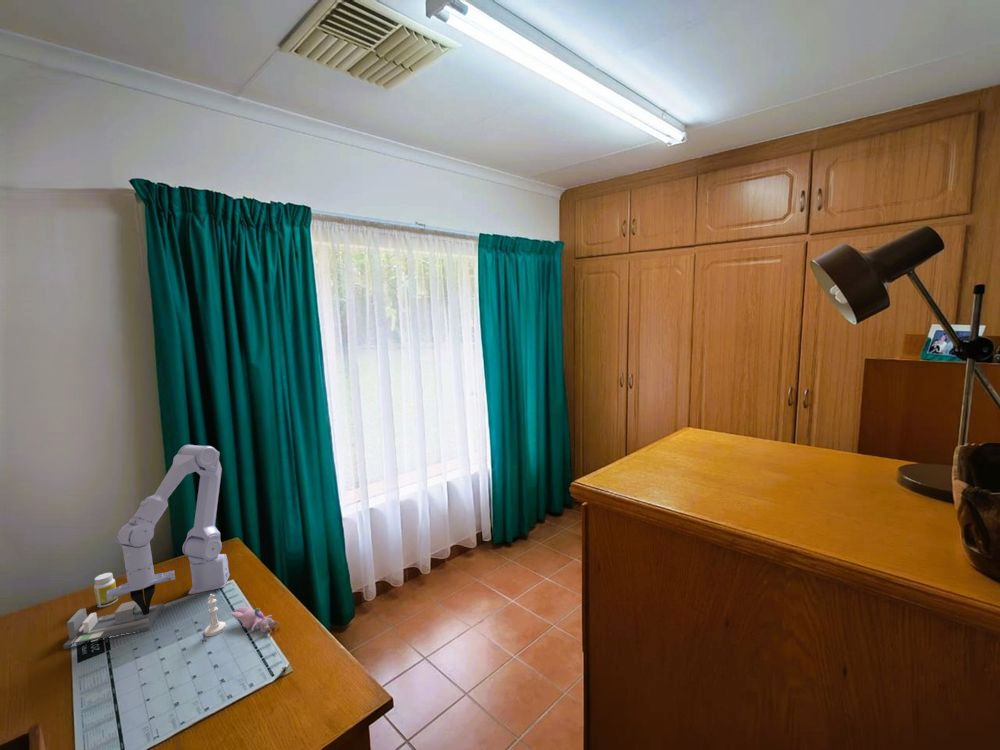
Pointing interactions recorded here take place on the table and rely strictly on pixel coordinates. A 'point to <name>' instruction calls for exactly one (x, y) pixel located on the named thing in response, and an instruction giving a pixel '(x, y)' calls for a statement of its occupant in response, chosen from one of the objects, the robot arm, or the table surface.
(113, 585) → the supplement bottle
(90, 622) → the white narrow bar
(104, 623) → the gauge base
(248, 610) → the pink toy animal
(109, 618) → the stepped grey block
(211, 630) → the chess piece
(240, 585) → the table surface
